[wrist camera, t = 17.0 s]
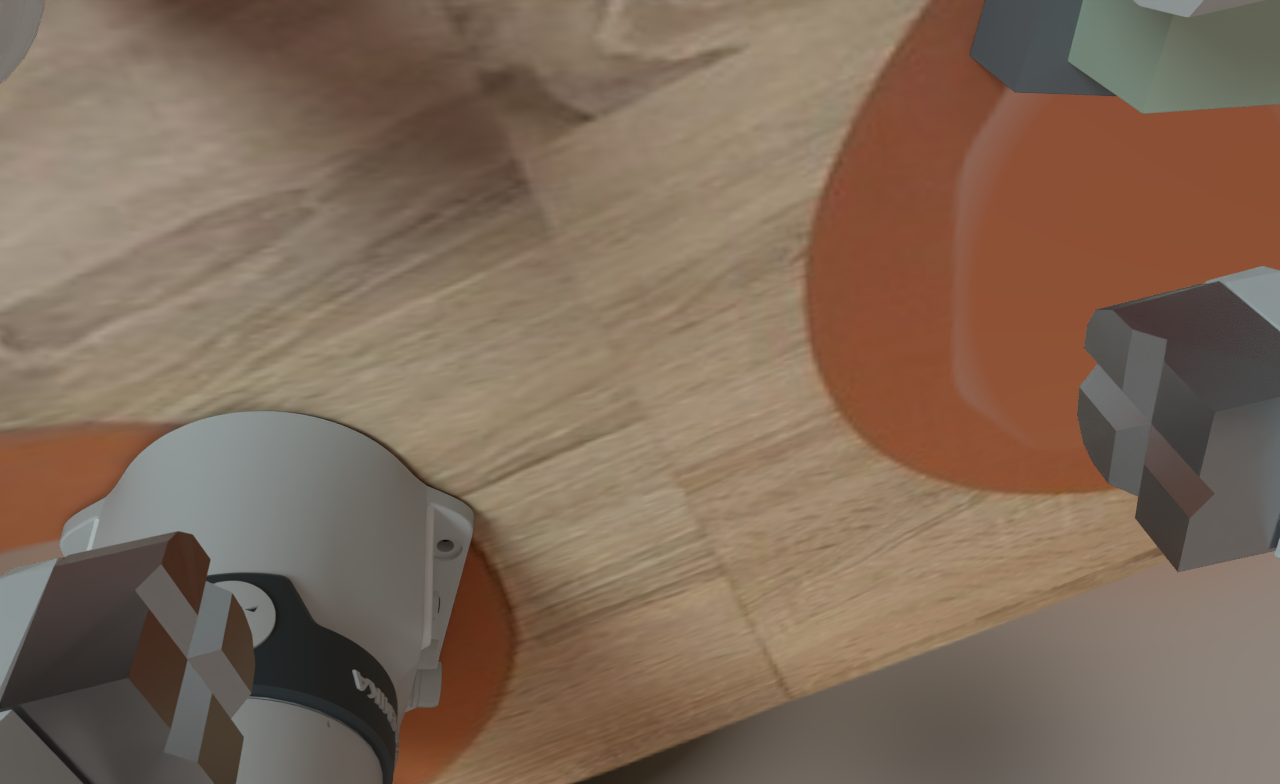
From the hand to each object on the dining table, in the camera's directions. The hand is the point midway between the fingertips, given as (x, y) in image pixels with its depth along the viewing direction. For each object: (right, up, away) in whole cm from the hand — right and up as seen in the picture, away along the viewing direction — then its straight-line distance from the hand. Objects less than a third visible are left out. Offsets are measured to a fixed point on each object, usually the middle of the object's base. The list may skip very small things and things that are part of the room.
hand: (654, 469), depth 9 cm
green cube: (+18, +15, +27) cm, 36 cm away
